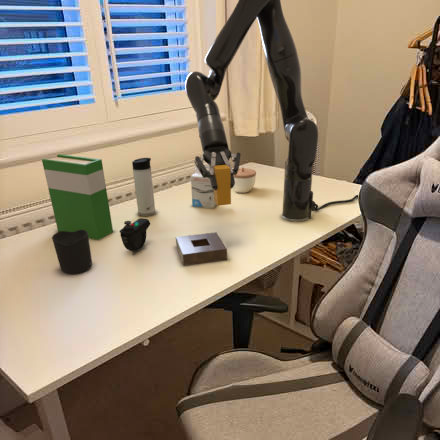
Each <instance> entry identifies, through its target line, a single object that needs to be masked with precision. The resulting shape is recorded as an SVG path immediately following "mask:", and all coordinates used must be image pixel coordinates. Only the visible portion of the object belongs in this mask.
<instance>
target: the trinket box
mask: <svg viewBox="0 0 440 440" xmlns="http://www.w3.org/2000/svg"><path fill="white" fill-rule="evenodd" d="M233 176H234V180H235V184H234V186H233V188H232V189H233V190H234V192H236V193H240V194H245V193H246V194H247V193H250V192H251V190H252V189H253V188H254V186H255V184H256V180H257V179H256V176H257V171H256V170H255V169H252V168H245V167H241V168H240V167H239V170H238V172H237V175H233Z"/></svg>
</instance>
